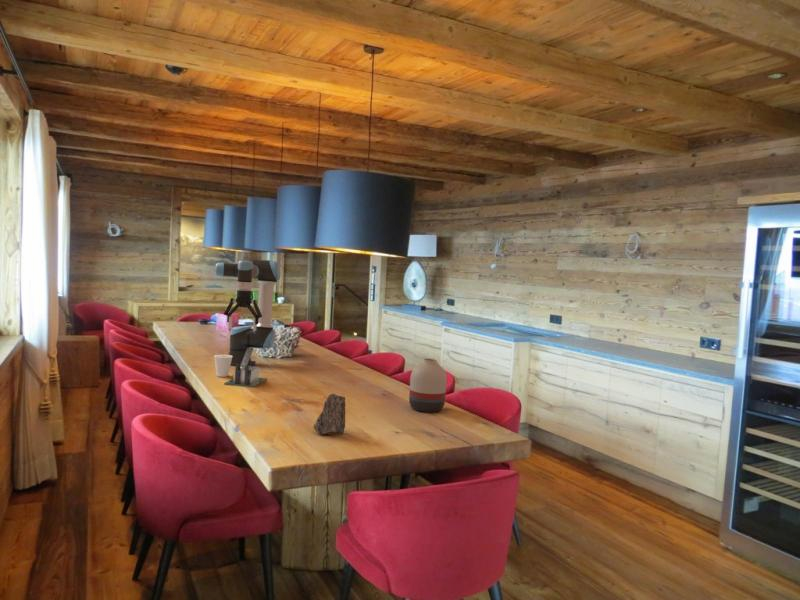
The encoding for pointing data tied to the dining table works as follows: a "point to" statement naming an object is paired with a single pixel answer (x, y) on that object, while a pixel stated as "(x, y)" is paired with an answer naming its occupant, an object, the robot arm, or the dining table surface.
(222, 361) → the cup
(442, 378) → the vase
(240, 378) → the green circuit board
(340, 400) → the stone
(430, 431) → the dining table surface
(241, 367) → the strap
